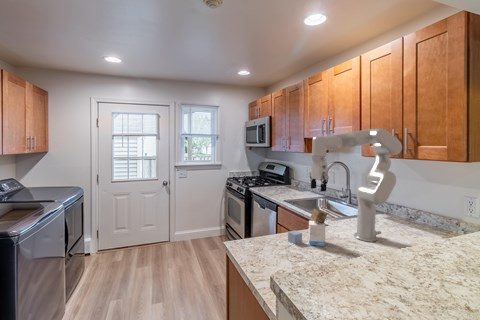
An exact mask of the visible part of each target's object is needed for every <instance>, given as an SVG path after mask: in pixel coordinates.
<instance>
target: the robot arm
mask: <svg viewBox="0 0 480 320" xmlns="http://www.w3.org/2000/svg"><path fill="white" fill-rule="evenodd" d="M370 144H372V151H373V154H374V157H375V159H374V160H375V161H374V163H373V165H372V166H371V169H370V171H369V172H368V173H367V176H366V180H367V182H368V183H369V184H370V185H369V184H362V185H360V186H358V188H357V189H356V199H357V219H356V232H355V233H354V234H353V237H354V238H355V239H357V240H360V241H363V242H373V243H374V242H377V241H378V239H379V238H378V236H377V235H382V231H381V230H376V213H377V210H376V209H377V207H376V205H377V206H382V205H384V204H385V203H386V202H387V201H388V199H389V198H390V196H391V194H392V191H393V190H394V188H395V186H396V184H397V176H396V174H395V173H394V172H393V171H391V170H390V168H391V164H392V161H391V158H390V156H396V155H399V154H401V152H402V150H403V144H402V143H401V141H400V140H399V139H398V138H397V137H396V136H394V135H393V134H392V133H390V132H389V131H388V130H386V129H385V128H383V127H382V128H380V127H379V128H368V129H362V130H355V131H349V132H345V133H340V134H333V135H327V136H313V137H312V140H311V145H312V146H311V167H310V172H309V181H310V189H317V180H318V181H320V183H321V184H320V192H327V184H328V182H329V179H330V177H329V174H328V172H329V171H328V163H327V151H328V150H329V151H336V150H339V149H341V148H352V147H353V148H354V147H360V146H365V145H370Z"/></svg>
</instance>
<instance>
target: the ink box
mask: <svg viewBox="0 0 480 320" xmlns="http://www.w3.org/2000/svg"><path fill="white" fill-rule="evenodd" d="M308 244H309V246H311V245H316V246H317V247H326V224H325V222H324V223H320V222H316V221H314V220H308ZM316 246H315V247H316Z"/></svg>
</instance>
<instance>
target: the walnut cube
mask: <svg viewBox="0 0 480 320" xmlns="http://www.w3.org/2000/svg"><path fill="white" fill-rule="evenodd" d="M327 217H328V213H326V212H325V211H323V210H321V209H317V208H313V210H312V213H311V215H310V218H311V219H312V221H316V222H320V223H325V221H326V219H327Z"/></svg>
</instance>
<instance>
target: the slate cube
mask: <svg viewBox="0 0 480 320" xmlns="http://www.w3.org/2000/svg"><path fill="white" fill-rule="evenodd" d="M287 242H289V243H291V244H292V243H293V244H292V245H294V244H295V245H298V244H297V243H299V244H301V242H302V243H303V233H302V232H300V231H297V230H295V229H294V230H291V231H288V232H287Z"/></svg>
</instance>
